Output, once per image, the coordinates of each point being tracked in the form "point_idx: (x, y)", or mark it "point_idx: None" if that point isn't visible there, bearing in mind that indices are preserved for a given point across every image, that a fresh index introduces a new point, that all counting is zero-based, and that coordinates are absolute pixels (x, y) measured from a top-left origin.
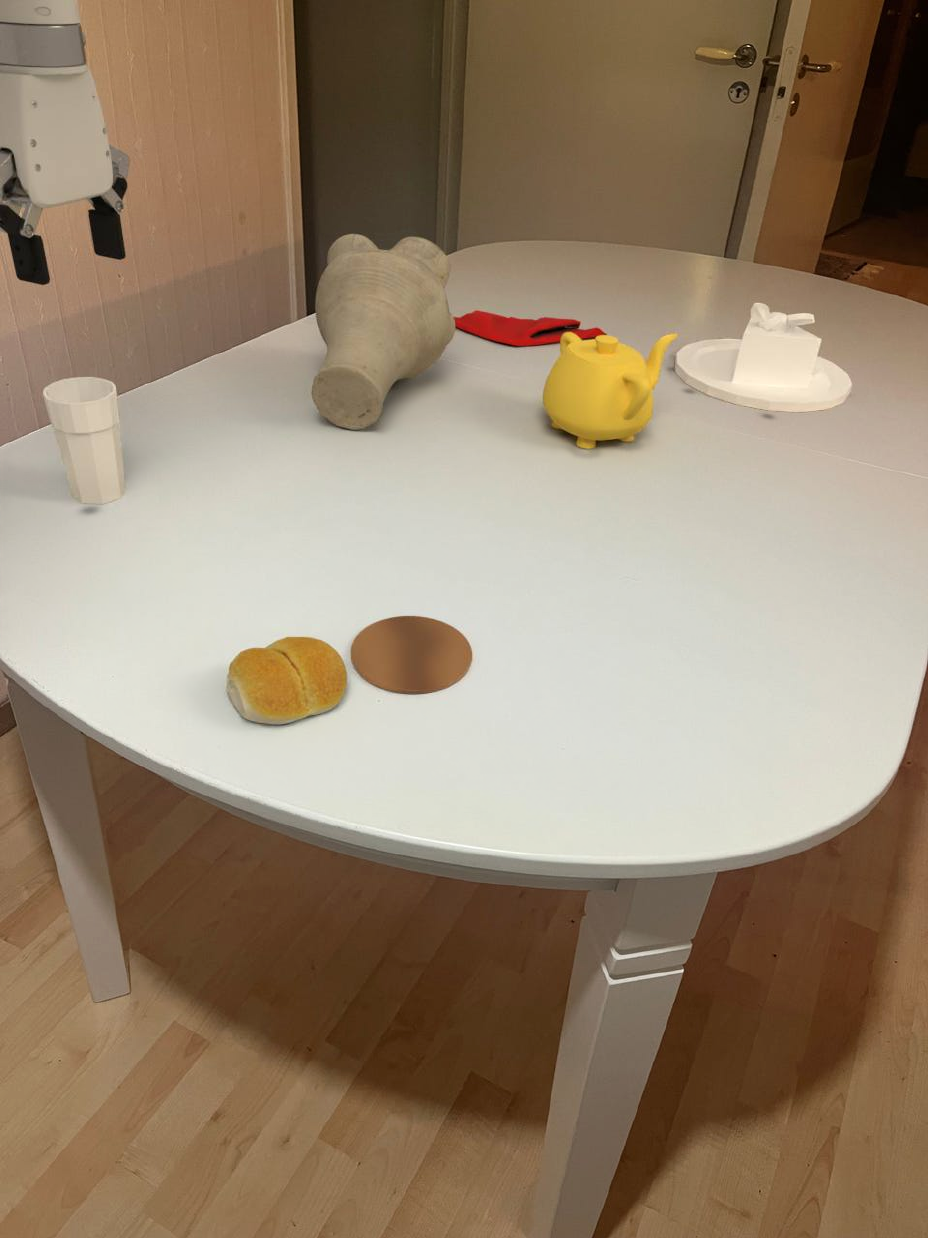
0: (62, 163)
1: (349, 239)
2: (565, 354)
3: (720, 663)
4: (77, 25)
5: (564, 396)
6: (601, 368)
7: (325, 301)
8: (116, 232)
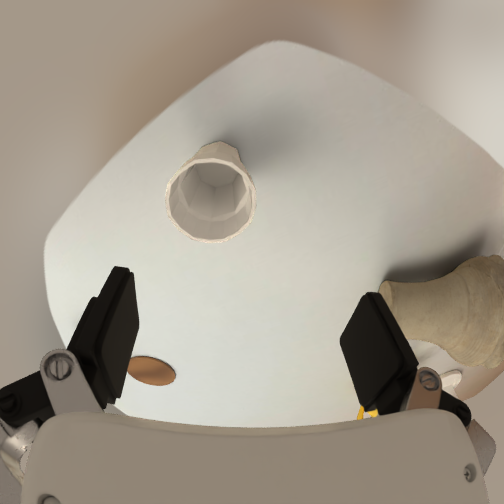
0: None
1: None
2: None
3: (202, 422)
4: None
5: None
6: (374, 416)
7: (480, 297)
8: (354, 380)
